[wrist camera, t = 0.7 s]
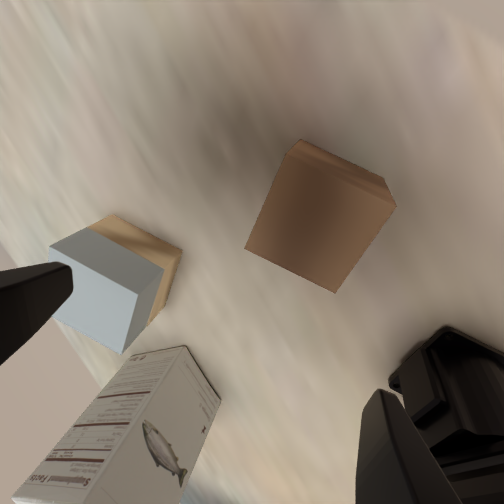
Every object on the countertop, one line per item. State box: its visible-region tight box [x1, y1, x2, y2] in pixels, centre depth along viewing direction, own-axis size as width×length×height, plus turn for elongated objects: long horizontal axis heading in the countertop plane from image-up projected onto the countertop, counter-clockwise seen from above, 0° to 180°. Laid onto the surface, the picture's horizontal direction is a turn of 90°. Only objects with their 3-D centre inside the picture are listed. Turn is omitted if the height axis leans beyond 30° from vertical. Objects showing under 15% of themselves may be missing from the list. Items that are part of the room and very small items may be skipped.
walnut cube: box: [244, 139, 397, 293], centre depth 16 cm, size 5×5×5 cm
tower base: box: [87, 215, 182, 326], centre depth 23 cm, size 6×6×3 cm
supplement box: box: [11, 346, 221, 504], centre depth 24 cm, size 7×7×13 cm
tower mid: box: [48, 227, 165, 355], centre depth 20 cm, size 6×6×3 cm
